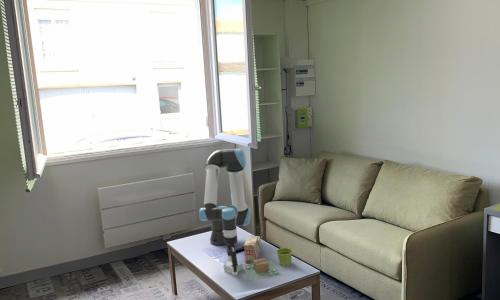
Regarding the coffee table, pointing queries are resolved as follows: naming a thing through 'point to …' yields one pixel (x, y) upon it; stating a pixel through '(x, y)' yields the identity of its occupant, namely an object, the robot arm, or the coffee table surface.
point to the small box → (229, 269)
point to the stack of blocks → (252, 248)
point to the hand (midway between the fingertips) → (233, 271)
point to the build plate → (253, 275)
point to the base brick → (261, 265)
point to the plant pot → (284, 256)
